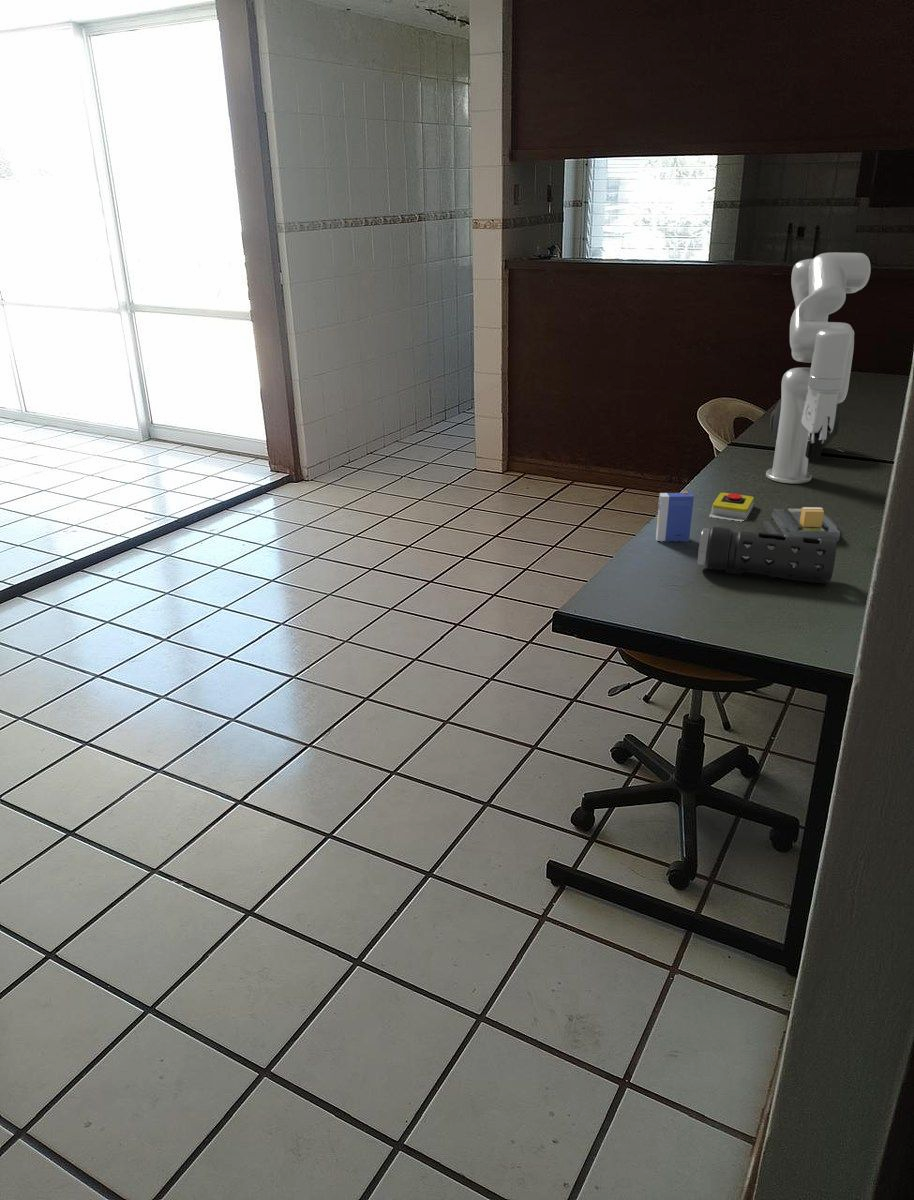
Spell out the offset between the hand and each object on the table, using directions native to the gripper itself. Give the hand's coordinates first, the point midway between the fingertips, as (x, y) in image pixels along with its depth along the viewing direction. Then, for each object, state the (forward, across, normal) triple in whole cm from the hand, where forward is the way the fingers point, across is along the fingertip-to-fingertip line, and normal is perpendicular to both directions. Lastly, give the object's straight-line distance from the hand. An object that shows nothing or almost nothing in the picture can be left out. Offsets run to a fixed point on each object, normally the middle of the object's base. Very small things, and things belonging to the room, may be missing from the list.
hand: (812, 457), depth 221 cm
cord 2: (+18, +1, +7) cm, 19 cm away
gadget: (+20, -66, +18) cm, 71 cm away
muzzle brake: (+17, +32, -18) cm, 41 cm away
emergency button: (+19, -10, -15) cm, 26 cm away
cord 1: (+18, +8, -9) cm, 21 cm away
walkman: (+17, +11, -34) cm, 40 cm away
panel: (+18, +3, 0) cm, 18 cm away
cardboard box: (+15, +7, 0) cm, 16 cm away
